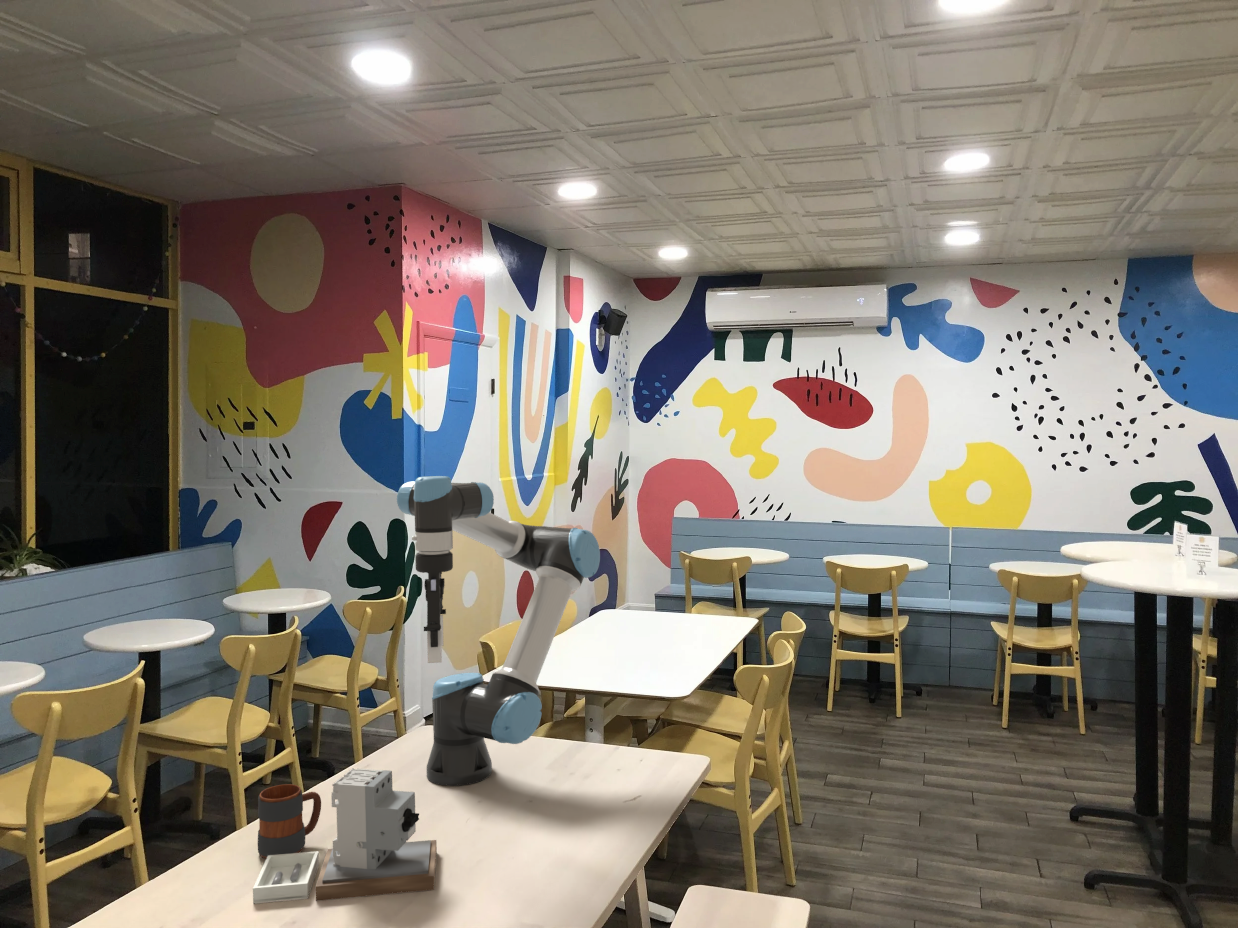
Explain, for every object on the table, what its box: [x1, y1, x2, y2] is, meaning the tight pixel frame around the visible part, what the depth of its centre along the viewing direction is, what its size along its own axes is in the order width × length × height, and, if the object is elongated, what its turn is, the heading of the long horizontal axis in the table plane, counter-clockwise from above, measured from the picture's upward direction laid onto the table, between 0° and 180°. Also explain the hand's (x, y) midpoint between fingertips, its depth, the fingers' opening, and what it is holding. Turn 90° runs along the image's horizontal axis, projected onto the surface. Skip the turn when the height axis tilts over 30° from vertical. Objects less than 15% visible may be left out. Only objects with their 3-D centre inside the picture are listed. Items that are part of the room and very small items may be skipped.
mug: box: [257, 783, 322, 860], centre depth 175 cm, size 9×12×12 cm
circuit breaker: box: [331, 767, 420, 870], centre depth 164 cm, size 8×14×15 cm, turn 79°
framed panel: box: [315, 839, 438, 902], centre depth 164 cm, size 14×20×3 cm
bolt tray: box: [252, 850, 320, 904], centre depth 161 cm, size 12×9×3 cm
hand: (435, 653), depth 186 cm, fingers open, 13 cm apart
